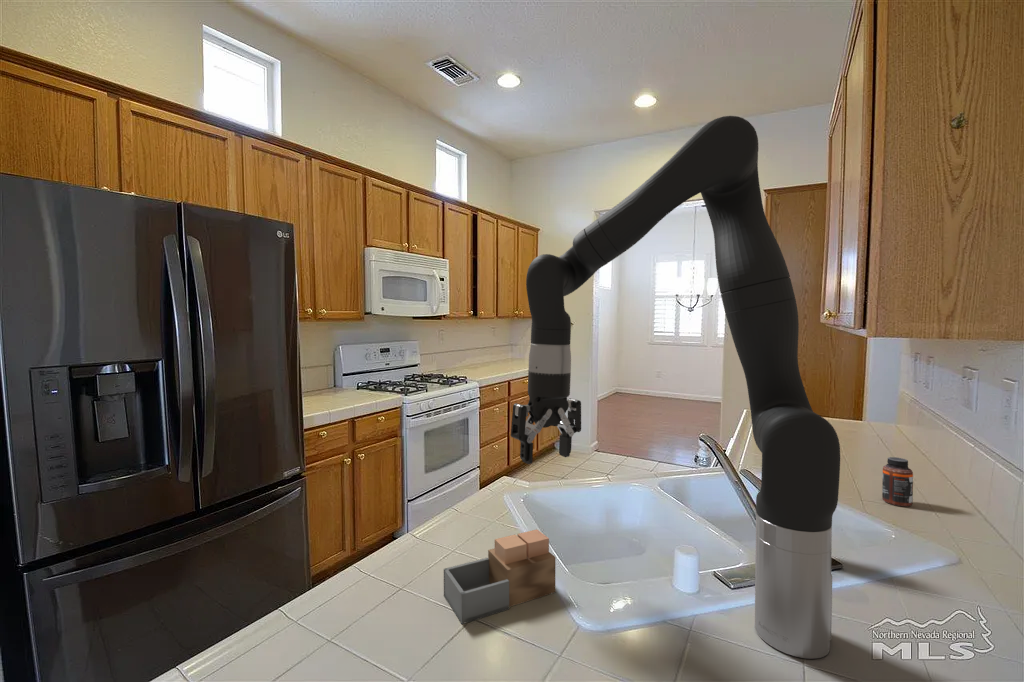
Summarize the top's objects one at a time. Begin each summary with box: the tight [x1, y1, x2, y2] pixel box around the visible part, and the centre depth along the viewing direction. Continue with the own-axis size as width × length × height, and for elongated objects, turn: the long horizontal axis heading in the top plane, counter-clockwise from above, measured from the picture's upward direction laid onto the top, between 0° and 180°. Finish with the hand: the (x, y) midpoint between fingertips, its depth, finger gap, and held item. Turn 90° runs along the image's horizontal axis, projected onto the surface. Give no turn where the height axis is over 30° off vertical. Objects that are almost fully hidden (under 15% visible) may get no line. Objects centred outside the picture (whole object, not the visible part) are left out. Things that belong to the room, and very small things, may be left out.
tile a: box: [516, 528, 550, 558], centre depth 78 cm, size 4×4×2 cm
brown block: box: [487, 547, 556, 608], centre depth 77 cm, size 9×8×6 cm
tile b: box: [494, 534, 527, 564], centre depth 76 cm, size 4×4×2 cm
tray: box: [443, 557, 510, 625], centre depth 73 cm, size 8×8×4 cm
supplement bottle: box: [881, 456, 914, 507], centre depth 116 cm, size 6×6×11 cm
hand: (546, 459), depth 81 cm, fingers open, 8 cm apart
